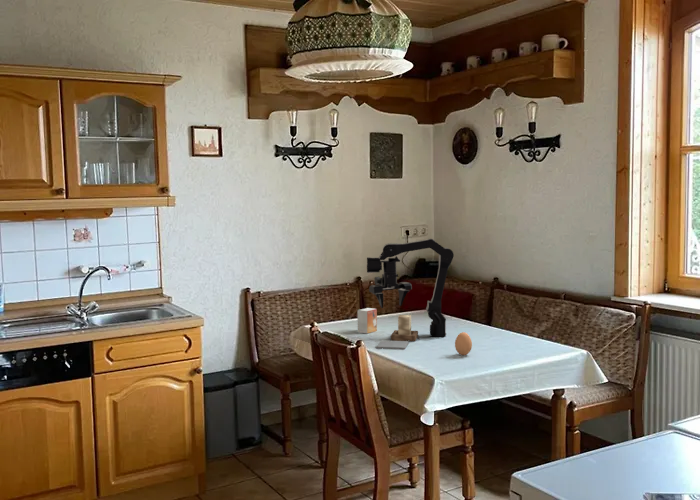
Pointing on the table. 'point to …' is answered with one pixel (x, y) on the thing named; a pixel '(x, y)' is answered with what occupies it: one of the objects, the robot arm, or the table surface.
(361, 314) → the small box
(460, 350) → the egg
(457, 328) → the table surface
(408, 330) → the birch block
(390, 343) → the slate mat
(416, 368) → the table surface
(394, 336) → the walnut holder
